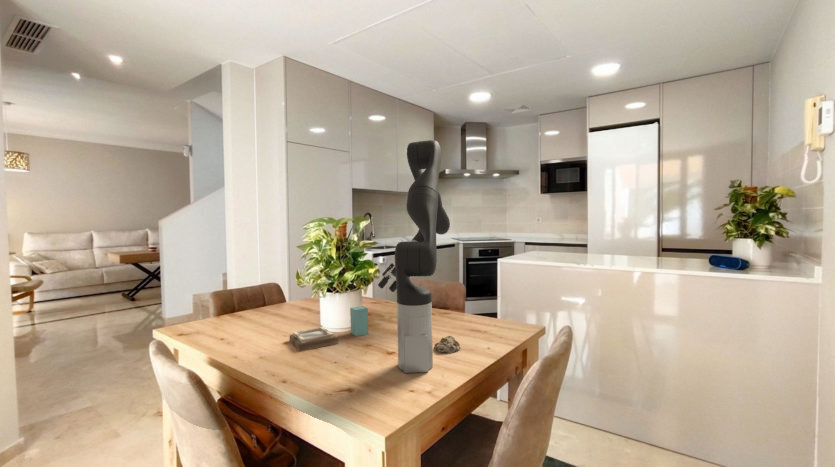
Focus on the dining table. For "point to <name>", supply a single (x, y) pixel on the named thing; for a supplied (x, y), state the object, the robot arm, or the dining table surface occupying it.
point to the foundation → (313, 338)
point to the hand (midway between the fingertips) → (385, 288)
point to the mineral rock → (447, 345)
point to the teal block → (359, 320)
